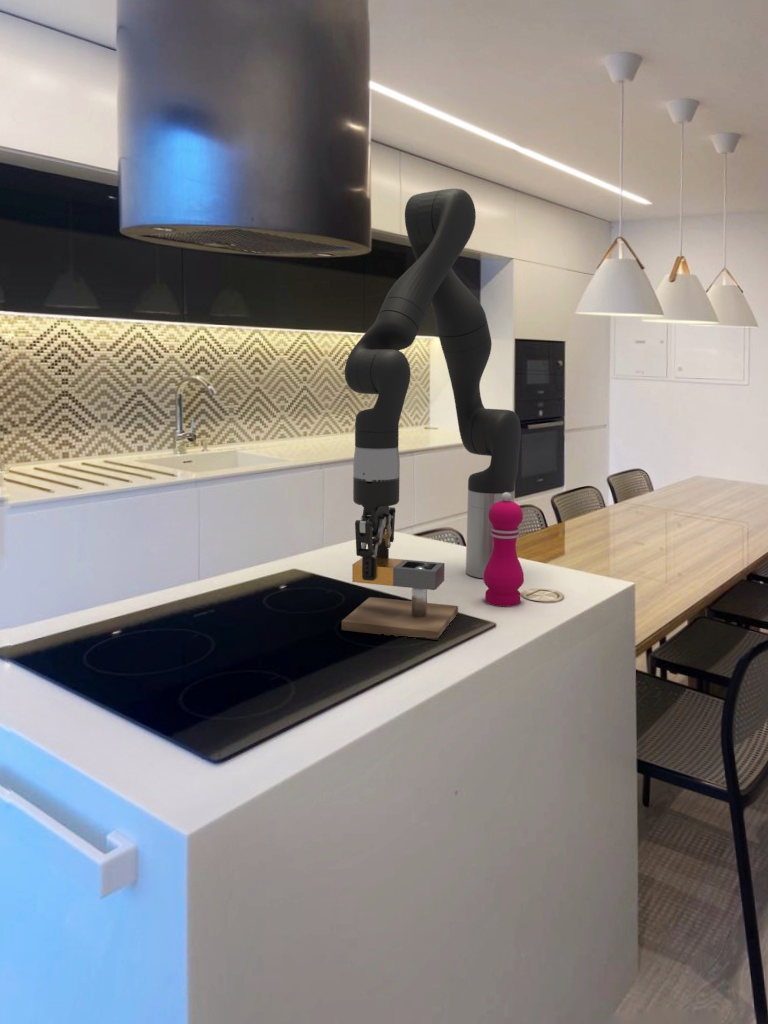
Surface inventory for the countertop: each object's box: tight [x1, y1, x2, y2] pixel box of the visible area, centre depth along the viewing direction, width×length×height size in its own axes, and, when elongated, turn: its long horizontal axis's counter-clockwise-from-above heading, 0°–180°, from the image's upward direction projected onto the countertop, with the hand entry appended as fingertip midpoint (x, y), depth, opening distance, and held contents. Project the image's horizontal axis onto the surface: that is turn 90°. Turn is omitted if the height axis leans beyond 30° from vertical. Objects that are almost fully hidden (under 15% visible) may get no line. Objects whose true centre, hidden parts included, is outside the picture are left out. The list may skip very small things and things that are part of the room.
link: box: [351, 557, 445, 591], centre depth 135 cm, size 6×14×3 cm, turn 72°
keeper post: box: [411, 566, 428, 618], centre depth 134 cm, size 2×2×8 cm
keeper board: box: [341, 596, 459, 638], centre depth 136 cm, size 14×16×2 cm
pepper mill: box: [482, 492, 525, 607], centre depth 146 cm, size 7×7×20 cm
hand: (375, 574), depth 136 cm, fingers closed on link, 6 cm apart
